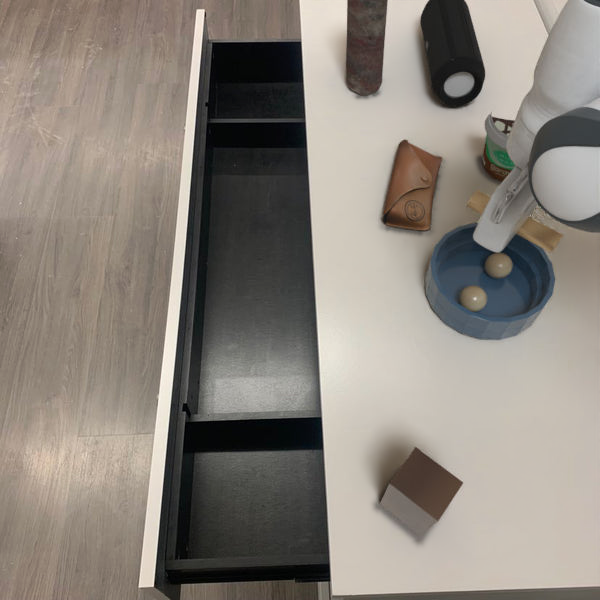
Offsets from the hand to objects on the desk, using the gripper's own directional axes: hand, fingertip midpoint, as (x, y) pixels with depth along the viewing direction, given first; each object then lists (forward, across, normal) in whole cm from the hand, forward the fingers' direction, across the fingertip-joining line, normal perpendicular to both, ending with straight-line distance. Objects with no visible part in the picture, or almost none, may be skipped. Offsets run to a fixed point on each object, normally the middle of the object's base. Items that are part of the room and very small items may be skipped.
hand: (513, 222), depth 68 cm
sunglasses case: (+17, +11, +20) cm, 28 cm away
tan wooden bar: (0, 0, 0) cm, 0 cm away
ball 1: (+16, -4, 0) cm, 16 cm away
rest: (+16, -33, -9) cm, 38 cm away
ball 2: (+16, +4, 0) cm, 16 cm away
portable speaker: (+17, +43, +33) cm, 57 cm away
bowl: (+16, 0, 0) cm, 17 cm away
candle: (+17, +29, +44) cm, 55 cm away
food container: (+17, +24, +9) cm, 31 cm away
